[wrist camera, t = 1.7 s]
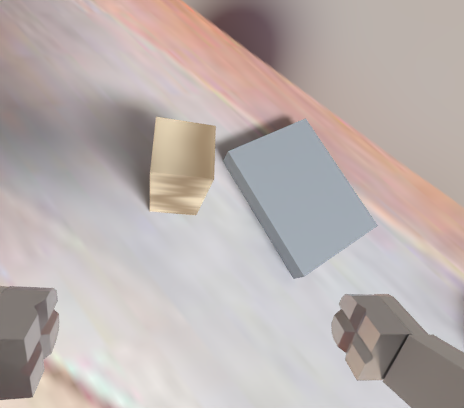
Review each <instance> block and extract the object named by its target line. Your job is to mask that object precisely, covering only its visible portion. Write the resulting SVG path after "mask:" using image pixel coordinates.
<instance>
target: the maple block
mask: <svg viewBox="0 0 464 408" xmlns="http://www.w3.org/2000/svg"><path fill="white" fill-rule="evenodd" d="M215 130H216V126H212V125H206V124H199V123H193V122H187V121H180V120H174V119H167V118H161V117H156V122H155V131H154V140H153V149H152V158H151V168H150V211H152V212H164V213H176V214H188V215H197V213H198V211H199V208H200V206H201V204H202V202H203V200H204V198H205V196H206V194H207V192H208V190H209V188H210V186H211V184H212V182H213V180H214V164H215Z"/></svg>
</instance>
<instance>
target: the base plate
mask: <svg viewBox="0 0 464 408" xmlns="http://www.w3.org/2000/svg"><path fill="white" fill-rule="evenodd" d="M223 162H224V164H225V166H226V167H227V169H228V171H229V172H230V174H231V175H232V177H233V179H234V180H235V182H236V184H237V185H238V187H239V189H240V190H241V192H242V194H243V195H244V197H245V199H246V200H247V202H248V204H249V205H250V207H251V209H252V210H253V212H254V214H255V215H256V217H257V219H258V220H259V222H260V224H261V225H262V227H263V228H264V230H265V232H266V233H267V235H268V237H269V238H270V240H271V242H272V243H273V245H274V247H275V248H276V250H277V252H278V253H279V255H280V257H281V258H282V260H283V262H284V263H285V265H286V267H287V268H288V270H289V272H290V273H291V275H292V277H293V278H294V279H295V278H300V277H304V276H306V275H307V274H309V273H310V272H311V271H313V270H314V269H316V268H317V267H319V266H320V265H322V264H323V263H324V262H326V261H327V260H329V259H330V258H332V257H333V256H335V255H336V254H337V253H339V252H340V251H342V250H343V249H345V248H346V247H348V246H349V245H351V244H352V243H353V242H355V241H356V240H358V239H359V238H361V237H362V236H364V235H365V234H366V233H368V232H369V231H371V230H372V229H374V228H375V227H377V226H378V225H377V224H376V222H375V221H374V219H373V218H372V216H371V215H370V213H369V212H368V210H367V209H366V207H365V206H364V204H363V203H362V201H361V200H360V199H359V197H358V196H357V194H356V193H355V191H354V190H353V188H352V187H351V185H350V184H349V182H348V181H347V179H346V178H345V176H344V175H343V173H342V172H341V170H340V169H339V167H338V166H337V164H336V163H335V161H334V160H333V158H332V157H331V155H330V154H329V152H328V151H327V149H326V148H325V146H324V145H323V144H322V142H321V141H320V139H319V138H318V136H317V135H316V133H315V132H314V130H313V129H312V127H311V126H310V124H309V123H308V121H307V120H306V118H305V119H303V120H301V121H298V122H296V123H294V124H291V125H289V126H287V127H284V128H282V129H279V130H277V131H275V132H272V133H270V134H268V135H265V136H263V137H261V138H258V139H256V140H253V141H251V142H249V143H246V144H244V145H242V146H239V147H237V148H235V149H232V150H230V151H228V152H227V154H226V156H225V158H224V160H223Z"/></svg>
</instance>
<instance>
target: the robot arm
mask: <svg viewBox="0 0 464 408" xmlns="http://www.w3.org/2000/svg"><path fill="white" fill-rule="evenodd" d="M57 301H58V298H57V290H56V289H54V288H39V287H15V286H10V287H5V286H0V400H6V399H19V398H31V397H33V395H34V393H35V391H36V388H37V386H38V384H39V381H40V379H41V377H42V374H43V372H44V361H43V359H45V358H46V357H47V356H48V355H50V354H51V353H52V350H53V348H54V345H55V343H56V339H57V335H58V331H59V314H58V313H57V312H56V311H55V310H54V307H55V305H56V303H57ZM339 306H340V308H341V310H340V311H338V312H337V313H336V314H335V315H334V317H333V320H332V323H331V326H332V335H333V338H334V341H335V342H336V344H337V346H338V347H339V348H340V349H342V350H343V351H344V352H345V353H346V357H345V360H346V362H347V364H348V366H349V367H350V369H351V371H352V373H353V374H354V376H355V378H356V380H383V382H384V383H385V384H386V385H387V386H388V387H389V388H390V389H392V390H393V391H394V392H395V393H396V394H397V395H398V396H399V397H400V398H401V399H403V400H404V401H405V402H406V403H407V404H408V405H409V406H410V407H411V408H464V353H463V352H462V351H460V350H458V349H456V348H455V347H453V346H451V345H450V344H448V343H446V342H444V341H443V340H441V339H439V338H438V337H436V336H434V335H428V334H427V332H426V331H425V330H424V329H423V328H422V327H421V326H420V325H419V324H418V323H417V322H416V321H415V320H414V318H413V317H412V316H411V315H410V314H409V313H408V312H407V311H406V310H405V309H404V308H403V307H402V305H401V304H400V303H399V302H398V301H397V300H396V299H395V298H394V297H392V296H391V295H389V294H374V295H365V294H345V295H344V296H343V297H342V298H341V300H340V303H339Z"/></svg>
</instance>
